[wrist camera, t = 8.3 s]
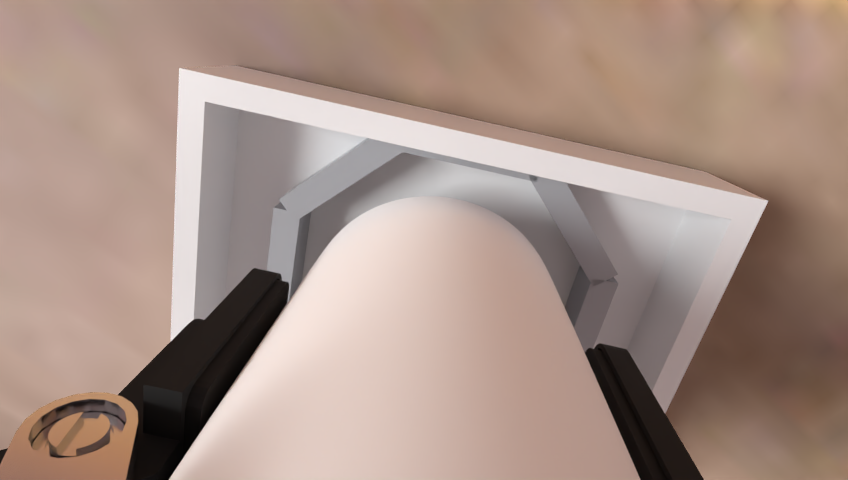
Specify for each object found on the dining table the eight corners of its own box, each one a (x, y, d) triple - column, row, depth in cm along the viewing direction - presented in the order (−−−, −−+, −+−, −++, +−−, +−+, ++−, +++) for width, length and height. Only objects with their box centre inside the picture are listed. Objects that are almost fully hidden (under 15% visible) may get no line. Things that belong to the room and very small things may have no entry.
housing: (235, 65, 14) (178, 68, 11) (705, 171, 14) (768, 201, 11) (198, 589, 21) (160, 670, 19) (500, 651, 22) (507, 739, 19)
